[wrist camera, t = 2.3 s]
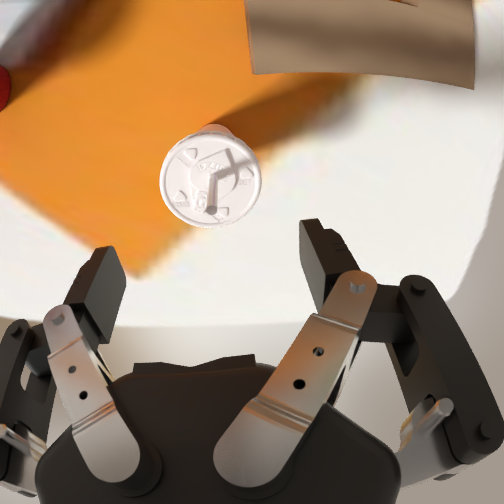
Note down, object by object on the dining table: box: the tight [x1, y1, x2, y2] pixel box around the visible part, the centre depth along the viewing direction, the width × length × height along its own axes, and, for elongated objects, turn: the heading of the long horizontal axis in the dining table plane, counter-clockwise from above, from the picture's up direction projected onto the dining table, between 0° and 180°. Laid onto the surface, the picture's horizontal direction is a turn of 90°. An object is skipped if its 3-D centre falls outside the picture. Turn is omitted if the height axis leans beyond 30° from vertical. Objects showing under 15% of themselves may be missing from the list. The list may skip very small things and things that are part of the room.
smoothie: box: [160, 124, 262, 228], centre depth 20 cm, size 6×6×14 cm
